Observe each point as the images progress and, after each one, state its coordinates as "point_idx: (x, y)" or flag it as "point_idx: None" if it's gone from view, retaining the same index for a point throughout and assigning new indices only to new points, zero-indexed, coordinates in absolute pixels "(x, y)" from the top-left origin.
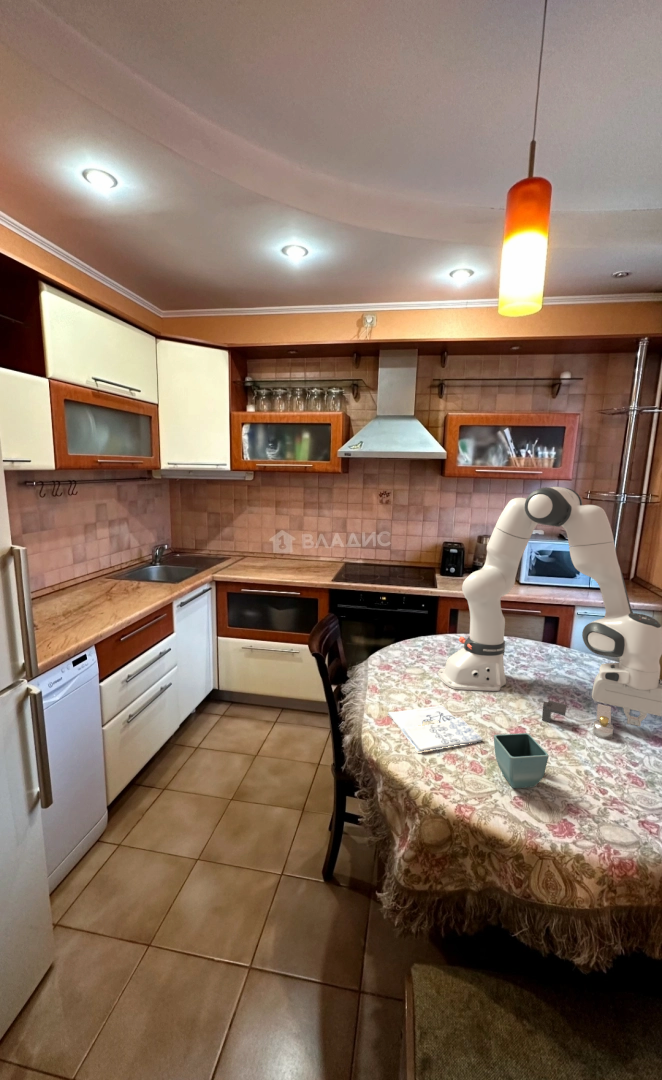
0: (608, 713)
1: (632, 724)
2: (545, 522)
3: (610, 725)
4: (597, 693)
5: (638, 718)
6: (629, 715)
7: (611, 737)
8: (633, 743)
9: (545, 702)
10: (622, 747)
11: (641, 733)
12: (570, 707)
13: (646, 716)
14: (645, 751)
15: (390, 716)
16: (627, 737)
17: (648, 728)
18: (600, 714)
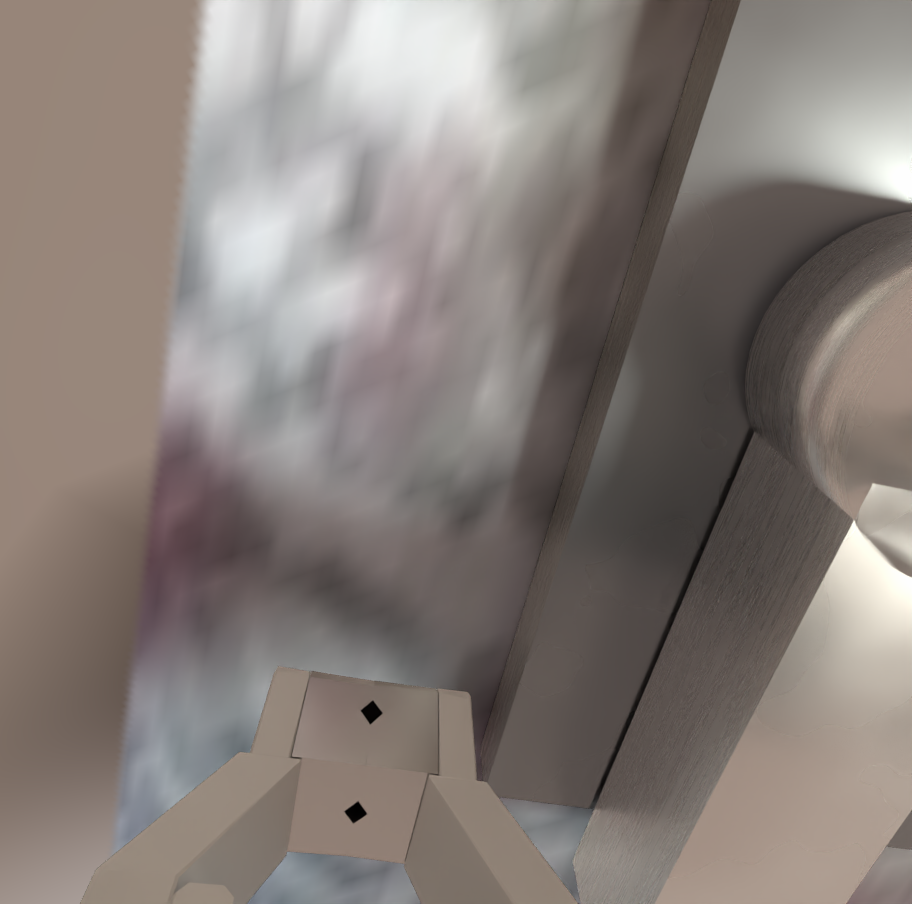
0: (720, 844)
1: (394, 685)
2: None
3: (894, 454)
4: None
5: (282, 816)
6: (443, 849)
7: (811, 275)
8: (417, 388)
9: None
10: (615, 202)
11: (264, 665)
12: (901, 900)
13: (97, 874)
14: (292, 212)
15: None
16: (458, 516)
17: (170, 786)
18: (880, 778)
